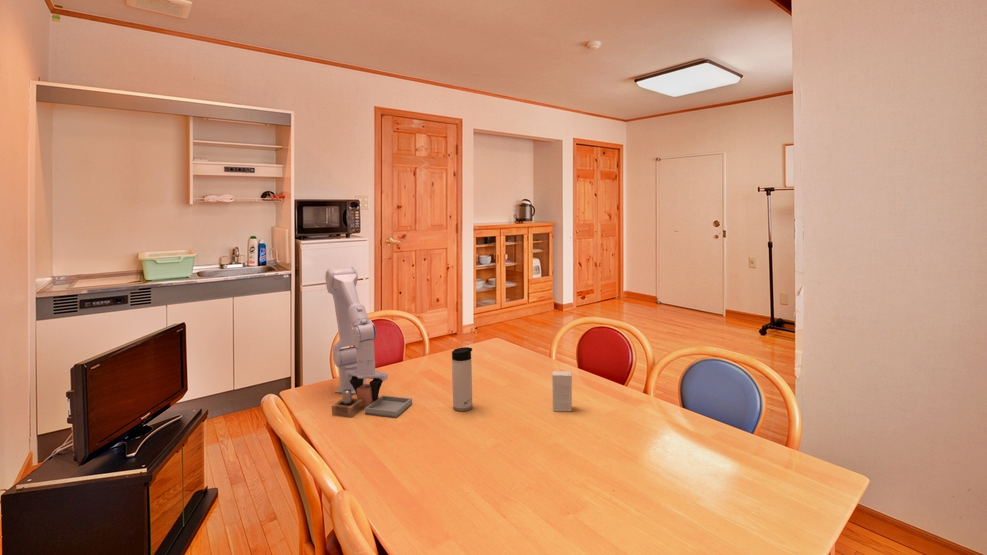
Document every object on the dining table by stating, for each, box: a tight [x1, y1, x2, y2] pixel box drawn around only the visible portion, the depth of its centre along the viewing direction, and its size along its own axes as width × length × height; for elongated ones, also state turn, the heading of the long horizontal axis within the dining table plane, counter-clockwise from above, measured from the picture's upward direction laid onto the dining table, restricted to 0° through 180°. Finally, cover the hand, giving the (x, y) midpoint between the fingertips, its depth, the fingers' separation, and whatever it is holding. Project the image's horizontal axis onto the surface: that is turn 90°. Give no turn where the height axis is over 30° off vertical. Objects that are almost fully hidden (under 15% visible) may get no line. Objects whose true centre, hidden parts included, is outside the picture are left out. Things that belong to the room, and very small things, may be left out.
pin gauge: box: [341, 389, 353, 406], centre depth 153 cm, size 3×3×7 cm
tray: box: [364, 394, 413, 419], centre depth 155 cm, size 11×11×2 cm
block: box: [356, 383, 380, 408], centre depth 159 cm, size 5×5×6 cm
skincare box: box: [551, 370, 573, 412], centre depth 152 cm, size 6×4×12 cm
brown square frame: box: [331, 397, 365, 418], centre depth 153 cm, size 7×7×3 cm
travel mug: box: [451, 346, 473, 412], centre depth 154 cm, size 6×7×20 cm
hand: (367, 399), depth 159 cm, fingers closed on block, 5 cm apart
